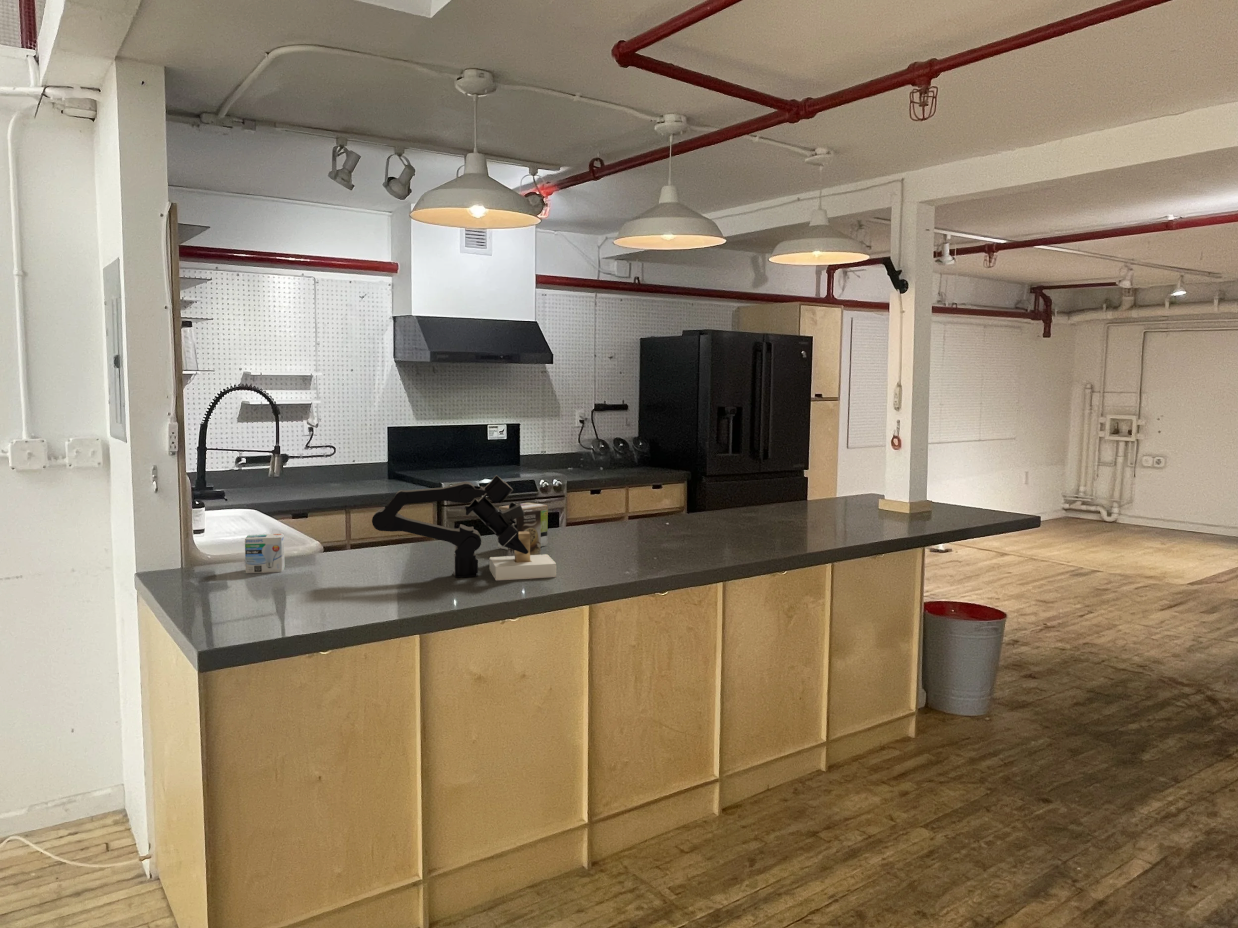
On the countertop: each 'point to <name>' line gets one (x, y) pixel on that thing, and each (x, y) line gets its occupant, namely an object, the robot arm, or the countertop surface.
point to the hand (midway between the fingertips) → (526, 549)
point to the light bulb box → (264, 553)
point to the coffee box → (530, 530)
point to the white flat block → (522, 567)
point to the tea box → (543, 520)
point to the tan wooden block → (526, 542)
